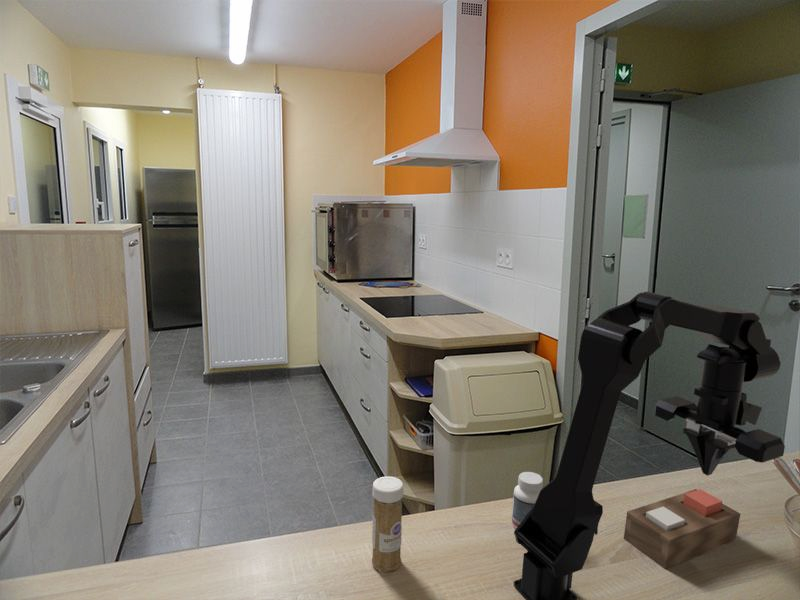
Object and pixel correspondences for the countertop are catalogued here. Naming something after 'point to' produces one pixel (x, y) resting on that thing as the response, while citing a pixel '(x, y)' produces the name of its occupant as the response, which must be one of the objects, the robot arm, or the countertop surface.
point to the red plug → (702, 503)
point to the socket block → (680, 532)
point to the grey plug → (665, 518)
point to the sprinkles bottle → (387, 523)
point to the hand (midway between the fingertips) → (707, 474)
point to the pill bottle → (525, 495)
